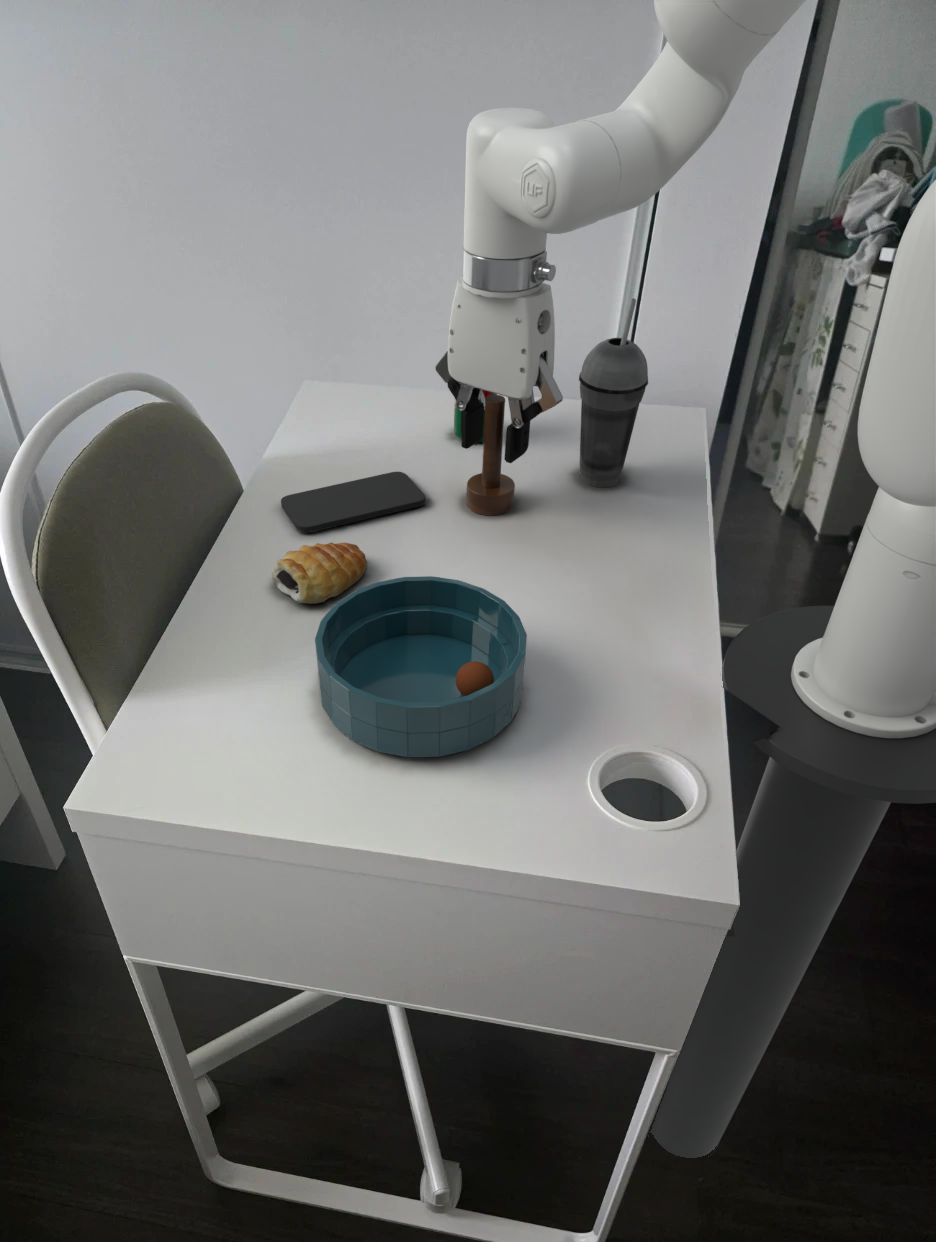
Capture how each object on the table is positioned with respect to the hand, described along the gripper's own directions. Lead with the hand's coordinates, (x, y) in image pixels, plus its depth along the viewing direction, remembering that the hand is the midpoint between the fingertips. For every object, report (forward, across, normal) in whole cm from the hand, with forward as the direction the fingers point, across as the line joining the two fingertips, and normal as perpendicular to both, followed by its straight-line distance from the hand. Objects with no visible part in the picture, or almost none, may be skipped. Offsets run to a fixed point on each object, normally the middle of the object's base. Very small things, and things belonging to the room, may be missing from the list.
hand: (493, 448), depth 99 cm
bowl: (+6, -12, +30) cm, 33 cm away
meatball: (+4, -17, +28) cm, 33 cm away
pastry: (+7, +5, +23) cm, 24 cm away
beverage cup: (+7, -7, -12) cm, 15 cm away
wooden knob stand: (+6, 0, 0) cm, 6 cm away
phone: (+7, +12, +9) cm, 16 cm away
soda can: (+7, +11, -12) cm, 18 cm away
